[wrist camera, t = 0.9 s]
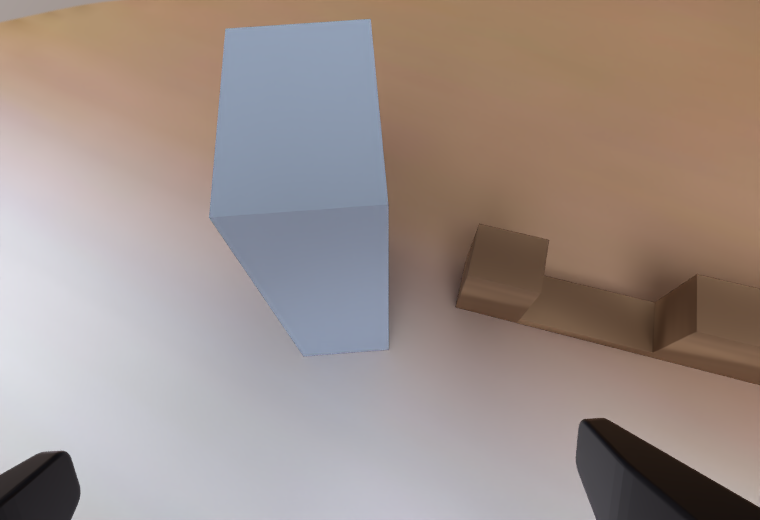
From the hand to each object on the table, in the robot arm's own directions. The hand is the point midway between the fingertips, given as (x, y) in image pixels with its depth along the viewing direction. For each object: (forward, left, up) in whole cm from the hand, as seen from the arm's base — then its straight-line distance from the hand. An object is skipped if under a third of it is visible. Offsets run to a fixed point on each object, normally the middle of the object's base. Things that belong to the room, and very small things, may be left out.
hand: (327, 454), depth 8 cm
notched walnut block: (+12, -7, -13) cm, 19 cm away
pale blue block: (+6, +5, -13) cm, 15 cm away
